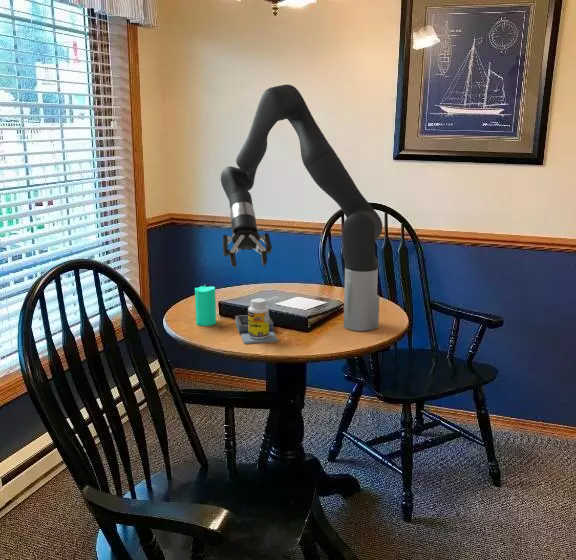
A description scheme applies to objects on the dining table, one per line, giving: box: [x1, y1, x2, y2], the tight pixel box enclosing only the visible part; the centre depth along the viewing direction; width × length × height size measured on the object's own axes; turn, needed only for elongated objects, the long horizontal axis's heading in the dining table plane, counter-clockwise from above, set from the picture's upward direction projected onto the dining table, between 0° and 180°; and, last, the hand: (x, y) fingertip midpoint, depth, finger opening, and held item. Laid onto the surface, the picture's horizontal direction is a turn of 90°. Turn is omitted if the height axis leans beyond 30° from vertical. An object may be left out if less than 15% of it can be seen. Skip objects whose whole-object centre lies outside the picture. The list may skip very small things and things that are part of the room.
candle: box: [194, 285, 217, 327], centre depth 173 cm, size 6×6×12 cm
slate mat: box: [240, 332, 278, 345], centre depth 160 cm, size 9×7×1 cm
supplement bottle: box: [247, 297, 270, 339], centre depth 159 cm, size 6×6×10 cm
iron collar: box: [234, 314, 275, 336], centre depth 169 cm, size 10×10×2 cm
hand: (249, 265), depth 172 cm, fingers open, 8 cm apart
